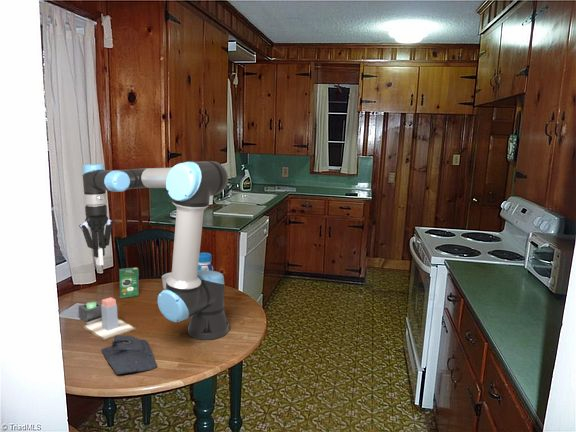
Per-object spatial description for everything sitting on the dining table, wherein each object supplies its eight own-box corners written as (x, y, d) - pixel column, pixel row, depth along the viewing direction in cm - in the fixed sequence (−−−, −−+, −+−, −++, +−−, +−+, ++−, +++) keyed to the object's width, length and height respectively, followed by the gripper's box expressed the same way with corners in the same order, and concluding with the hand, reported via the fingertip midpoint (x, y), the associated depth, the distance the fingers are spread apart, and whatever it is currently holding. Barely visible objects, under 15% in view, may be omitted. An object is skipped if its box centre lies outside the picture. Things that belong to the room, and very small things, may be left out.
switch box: (105, 317, 170) (104, 305, 169) (87, 323, 165) (86, 311, 164) (96, 312, 174) (95, 301, 173) (79, 317, 169) (78, 306, 168)
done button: (98, 314, 170) (98, 303, 169) (89, 317, 167) (88, 305, 166) (94, 312, 172) (93, 300, 171) (85, 315, 169) (84, 303, 168)
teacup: (179, 296, 194) (179, 279, 193) (157, 294, 196) (157, 277, 195) (192, 286, 208) (192, 270, 206) (171, 284, 210) (171, 268, 208)
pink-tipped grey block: (117, 327, 161) (116, 299, 159) (107, 330, 158) (106, 302, 156) (112, 324, 164) (111, 296, 161) (102, 327, 160) (100, 299, 158)
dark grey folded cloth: (108, 382, 128) (107, 367, 127) (100, 349, 147) (100, 336, 146) (160, 370, 135) (160, 356, 134) (147, 340, 154) (146, 328, 153)
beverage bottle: (190, 298, 193) (190, 255, 189) (201, 292, 200) (201, 250, 197) (206, 301, 190) (206, 258, 186) (217, 295, 197) (217, 253, 194)
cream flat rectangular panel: (136, 329, 161) (136, 326, 161) (103, 341, 151) (103, 338, 151) (113, 316, 172) (113, 313, 172) (81, 326, 162) (80, 324, 162)
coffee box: (138, 293, 196) (137, 266, 193) (139, 296, 193) (138, 268, 191) (119, 296, 192) (118, 268, 189) (120, 298, 189) (119, 270, 187)
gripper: (83, 207, 155) (88, 270, 159) (117, 203, 165) (120, 262, 169) (73, 205, 160) (78, 266, 164) (106, 201, 170) (110, 259, 174)
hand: (99, 264), depth 167 cm, fingers closed
